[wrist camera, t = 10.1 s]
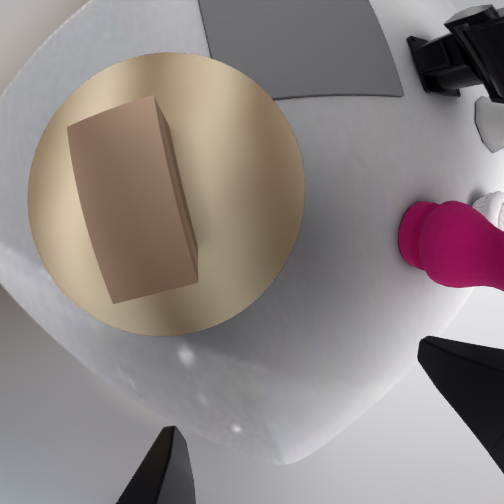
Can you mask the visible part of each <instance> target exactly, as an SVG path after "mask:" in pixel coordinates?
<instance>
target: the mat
mask: <svg viewBox="0 0 504 504" xmlns="http://www.w3.org/2000/svg"><path fill="white" fill-rule="evenodd" d="M198 2H199V6H200V11H201V15H202V20H203V24H204V29H205V33H206V37H207V42H208V46H209V51H210V55H211V59H214V60H217V61H220V62H222V63H224V64H226V65H228V66H230V67H232V68H234V69H236V70H238V71H240V72H241V73H243V74H244V75H246V76H247V77H249V78H250V79H252V80H253V81H254V82H255V83H256V84H258V85H259V86H260V87H261V88H262V89H263V90H264V91H265V92H266V93H267V94H268V95H269V96H270V97H271V98H272V100H278V99H288V98H299V97H314V96H341V95H365V96H391V97H402V96H404V93H403V89H402V86H401V82H400V79H399V76H398V72H397V69H396V66H395V63H394V60H393V57H392V55H391V52H390V49H389V46H388V44H387V41H386V39H385V36H384V34H383V31H382V29H381V26H380V24H379V22H378V19H377V17H376V15H375V13H374V11H373V9H372V6H371V4H370V2H369V0H198Z"/></svg>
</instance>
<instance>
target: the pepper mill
mask: <svg viewBox="0 0 504 504" xmlns="http://www.w3.org/2000/svg"><path fill="white" fill-rule="evenodd" d="M398 239H399V248H400V251H401V255H402V256H403V258H404V260H405V261H406V262H407V263H408V264H410V265H412V266H414V267H417V268H419V269H421V270H425V271H426V273H427V275H428V276H429V277H430V279H432V280H433V281H434V282H436V283H438V284H441V285H444V286H447V287H454V288H463V287H473V286H489V287H494V288H497V289H499V290H502V291H504V231H502V230H500V229H499V228H497V227H495V226H494V225H493V224H492V223H491V222H489V221H488V220H487V219H486V218H485V217H484V216H483V215H482V214H481V213H480V212H479V211H477V210H476V209H474V208H473V207H471V206H469V205H468V204H465V203H461V202H458V201H447V202H444V203H442V204H440V205H439V204H436V203H430V202H418V203H416V204H414V205H413V206H411V207H410V208H409V210H408V211H407V212H406V214H405V215H404V217H403V219H402V222H401V225H400V230H399V237H398Z"/></svg>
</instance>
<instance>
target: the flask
mask: <svg viewBox="0 0 504 504" xmlns="http://www.w3.org/2000/svg"><path fill="white" fill-rule="evenodd" d="M476 124H477V126H478V129H479V132H480V134H481V137H482V140H483V142H484V144H485V145H486V146H487V147H488V148H489V149H490V150H491V151H492V153H494V152H496V151H499V150H500V149H502V148H504V104H501V103H495V102H491V100H490V98H487V97H484V96H482V97H481V98H480V99H479V100H478V101H477V102H476Z"/></svg>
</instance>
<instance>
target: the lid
mask: <svg viewBox="0 0 504 504" xmlns="http://www.w3.org/2000/svg"><path fill="white" fill-rule="evenodd" d="M304 204H305V176H304V168H303V161H302V157H301V154H300V150H299V147H298V143H297V140H296V138H295V136H294V133H293V131H292V129H291V127H290V124H289V123H288V121H287V119H286V118H285V116H284V115H283V113H282V111H281V110H280V108H279V107H278V106H277V104H276V103H275V102H274V101H273V100H272V98H271V97H270V96H269V95H268V94H267V93H266V92H265V91H264V90H263V89H262V88H261V87H260V86H259V85H258V84H256V83H255V82H254V81H253V80H252V79H250V78H249V77H247V76H246V75H244V74H243V73H241V72H240V71H238V70H236V69H234V68H232V67H230V66H228V65H226V64H224V63H222V62H220V61H217V60H214V59H210V58H207V57H204V56H199V55H194V54H187V53H169V52H165V53H155V54H147V55H142V56H138V57H134V58H131V59H127V60H125V61H122V62H120V63H117V64H115V65H112V66H110V67H108V68H106V69H105V70H103V71H101V72H99V73H98V74H96V75H94V76H93V77H91V78H90V79H89V80H87V81H86V82H85V83H83V84H82V85H81V86H79V87H78V88H77V89H76V90H75V91H74V92H73V93H72V94H71V95H70V96H69V97H68V98H67V99H66V100H65V101H64V102H63V104H62V105H61V106H60V107H59V109H58V110H57V111H56V113H55V114H54V115H53V117H52V118H51V120H50V122H49V123H48V125H47V127H46V129H45V130H44V132H43V134H42V137H41V139H40V141H39V143H38V146H37V148H36V151H35V155H34V158H33V161H32V165H31V170H30V176H29V182H28V214H29V222H30V227H31V231H32V236H33V239H34V242H35V245H36V248H37V251H38V254H39V256H40V258H41V260H42V262H43V264H44V266H45V268H46V270H47V271H48V273H49V274H50V276H51V277H52V279H53V280H54V282H55V283H56V285H57V286H58V287H59V288H60V289H61V290H62V291H63V293H64V294H65V295H66V296H67V297H68V298H69V299H70V300H71V301H72V302H74V303H75V304H76V305H77V306H78V307H79V308H80V309H82V310H83V311H85V312H86V313H88V314H89V315H91V316H92V317H94V318H95V319H97V320H99V321H101V322H103V323H105V324H107V325H109V326H112V327H114V328H117V329H120V330H123V331H126V332H130V333H135V334H140V335H147V336H178V335H184V334H190V333H195V332H198V331H202V330H205V329H208V328H211V327H213V326H216V325H218V324H220V323H222V322H224V321H227V320H229V319H230V318H232V317H233V316H235V315H237V314H238V313H240V312H241V311H243V310H244V309H246V308H247V307H248V306H249V305H251V304H252V303H253V302H254V301H255V300H257V299H258V298H259V297H260V296H261V295H262V294H263V293H264V292H265V291H266V289H267V288H268V287H269V286H270V285H271V284H272V283H273V281H274V280H275V278H276V277H277V276H278V274H279V273H280V272H281V270H282V269H283V267H284V265H285V263H286V261H287V260H288V258H289V256H290V254H291V252H292V250H293V247H294V245H295V242H296V240H297V237H298V234H299V230H300V226H301V222H302V219H303V212H304Z"/></svg>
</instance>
